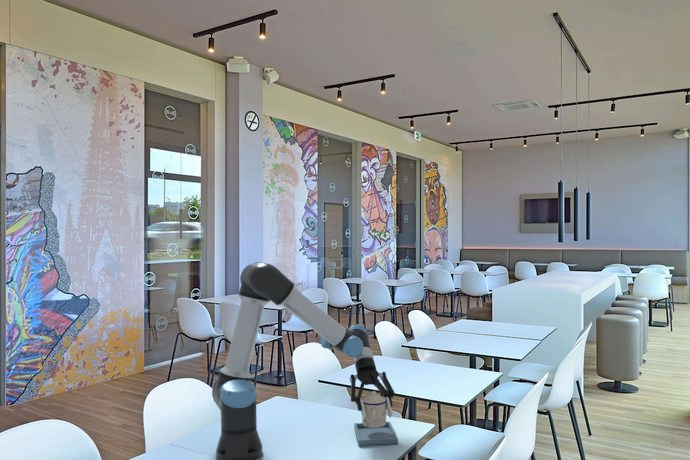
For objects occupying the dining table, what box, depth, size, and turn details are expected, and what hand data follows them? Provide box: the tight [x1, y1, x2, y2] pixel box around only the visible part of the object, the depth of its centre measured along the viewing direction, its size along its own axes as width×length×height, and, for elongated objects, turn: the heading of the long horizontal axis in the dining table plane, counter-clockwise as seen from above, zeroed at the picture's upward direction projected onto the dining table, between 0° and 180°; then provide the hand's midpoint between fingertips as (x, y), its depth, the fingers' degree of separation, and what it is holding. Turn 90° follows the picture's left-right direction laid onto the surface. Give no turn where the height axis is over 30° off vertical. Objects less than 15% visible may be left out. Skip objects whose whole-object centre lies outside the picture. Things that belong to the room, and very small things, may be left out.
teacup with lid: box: [361, 390, 387, 428], centre depth 186 cm, size 12×9×12 cm
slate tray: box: [353, 421, 399, 447], centre depth 186 cm, size 14×17×2 cm
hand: (377, 417), depth 183 cm, fingers closed on teacup with lid, 9 cm apart
